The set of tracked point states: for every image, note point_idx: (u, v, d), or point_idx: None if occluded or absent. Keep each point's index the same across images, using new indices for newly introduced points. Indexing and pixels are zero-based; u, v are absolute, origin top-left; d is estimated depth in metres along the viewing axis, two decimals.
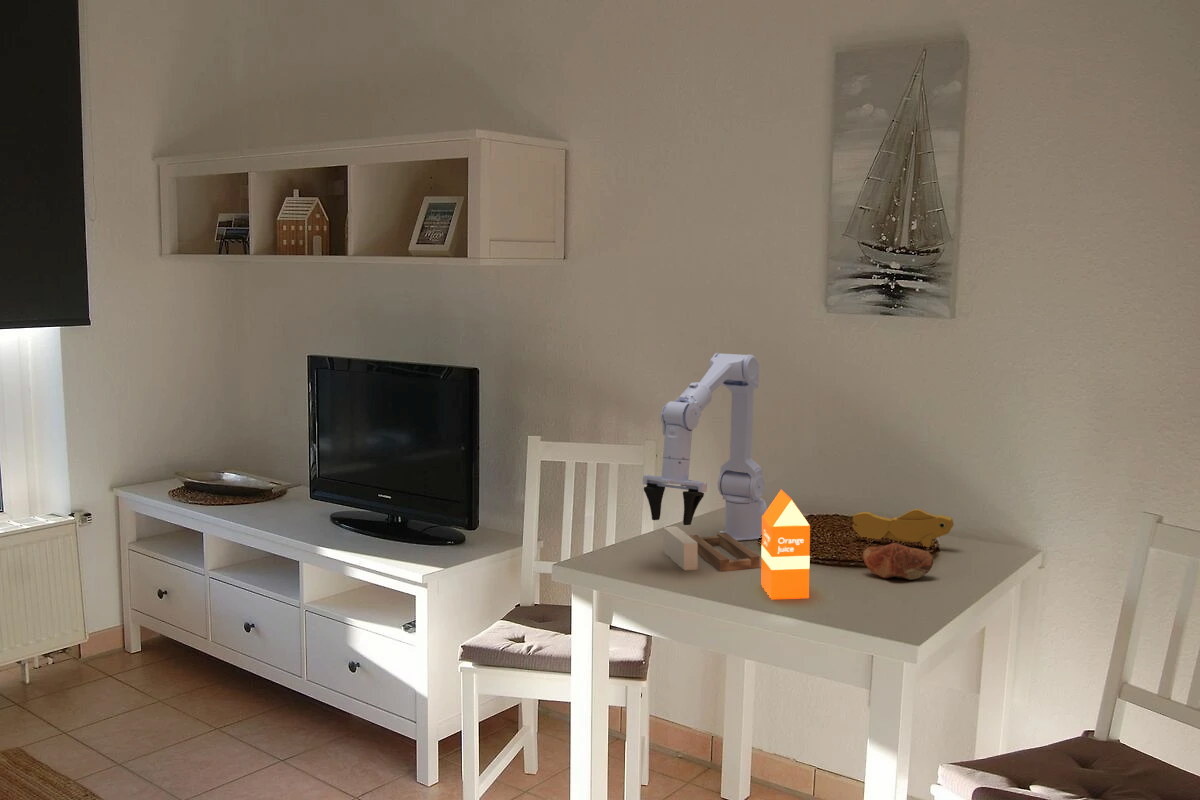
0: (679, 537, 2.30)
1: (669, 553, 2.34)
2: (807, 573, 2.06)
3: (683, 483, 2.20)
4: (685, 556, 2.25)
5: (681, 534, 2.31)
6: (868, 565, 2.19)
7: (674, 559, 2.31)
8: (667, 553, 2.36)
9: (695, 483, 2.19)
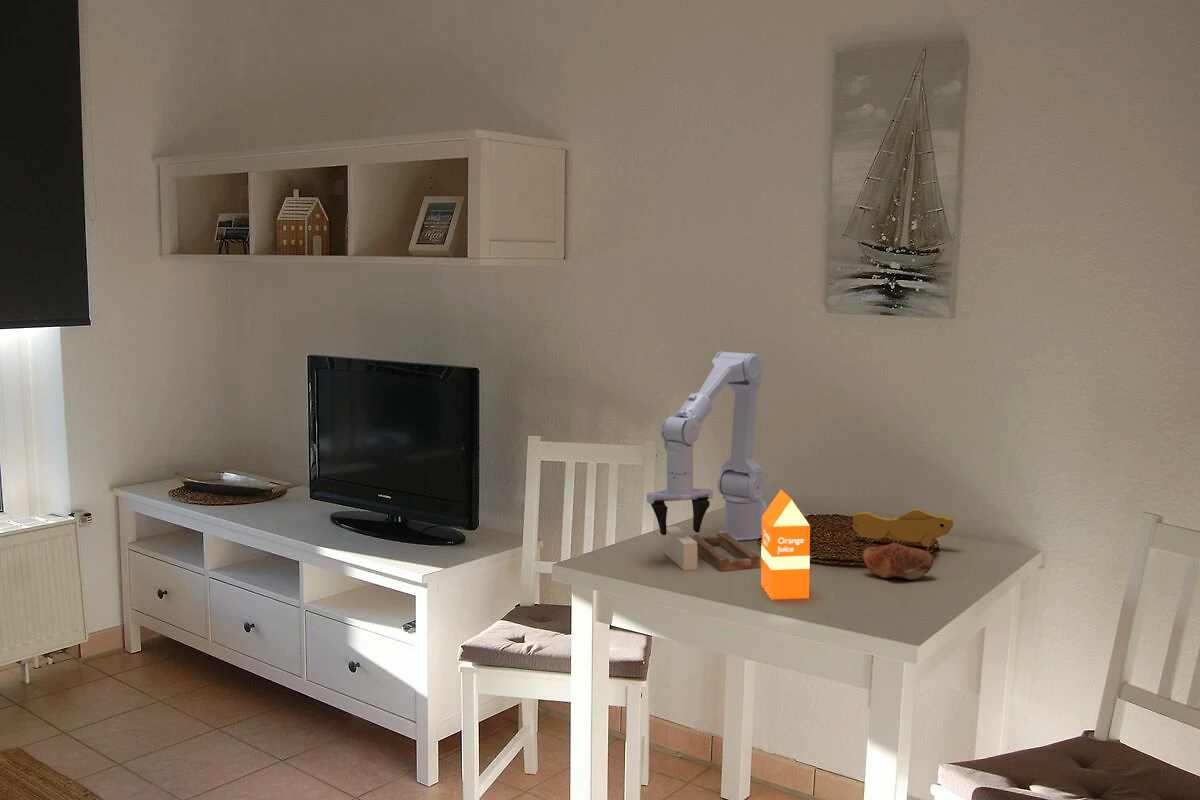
0: (679, 536, 2.30)
1: (669, 553, 2.34)
2: (807, 573, 2.06)
3: (697, 494, 2.29)
4: (685, 556, 2.25)
5: (681, 534, 2.31)
6: (868, 565, 2.19)
7: (674, 559, 2.31)
8: (667, 553, 2.36)
9: (706, 492, 2.30)
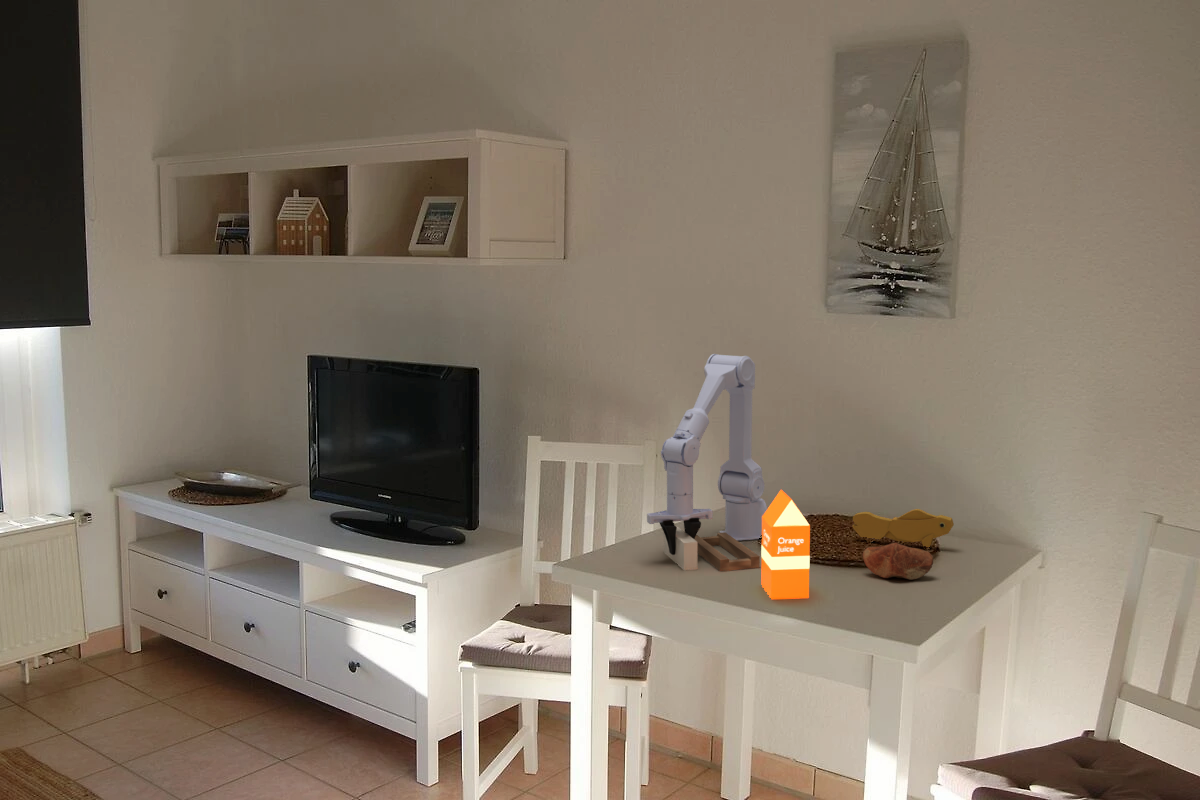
0: (679, 536, 2.30)
1: (669, 553, 2.34)
2: (807, 573, 2.06)
3: (697, 515, 2.30)
4: (685, 555, 2.25)
5: (681, 534, 2.31)
6: (868, 565, 2.19)
7: (674, 558, 2.31)
8: (667, 552, 2.36)
9: (706, 512, 2.31)
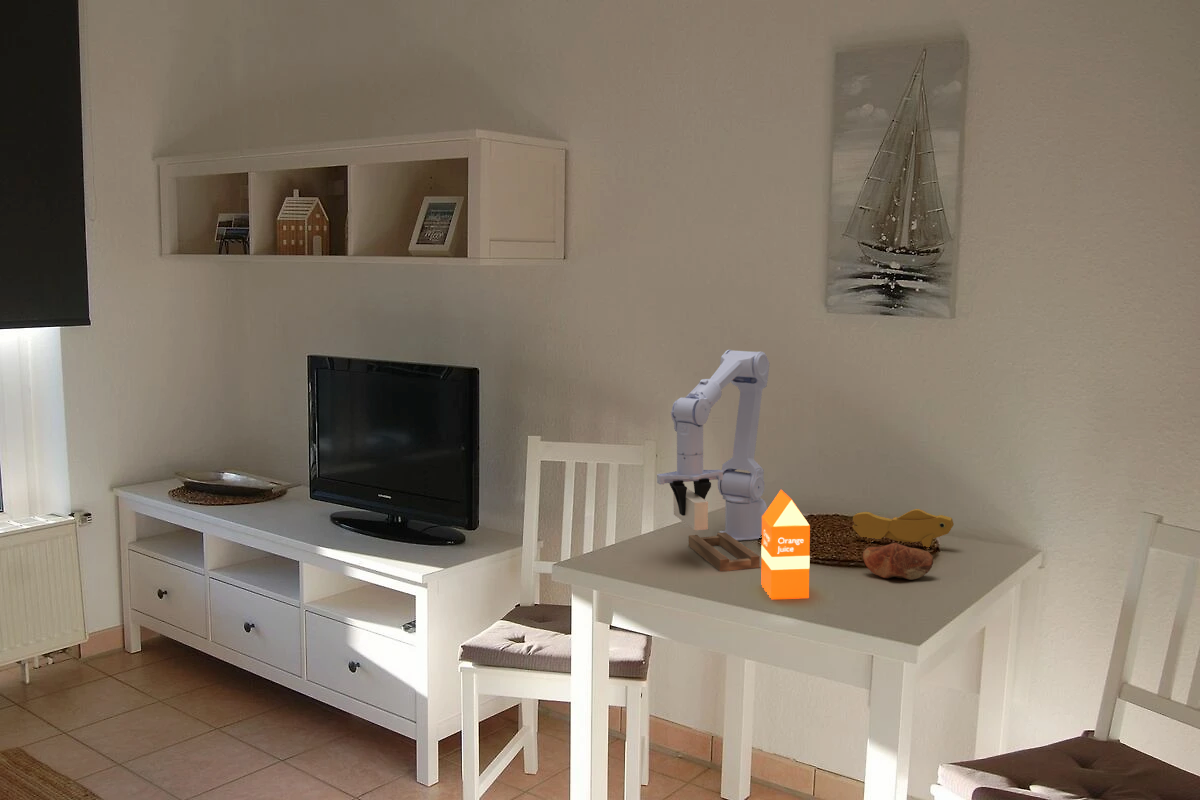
0: (689, 496, 2.29)
1: (679, 514, 2.34)
2: (807, 573, 2.06)
3: (707, 475, 2.29)
4: (695, 515, 2.24)
5: (691, 495, 2.31)
6: (868, 565, 2.19)
7: (684, 519, 2.31)
8: (677, 514, 2.35)
9: (716, 473, 2.30)
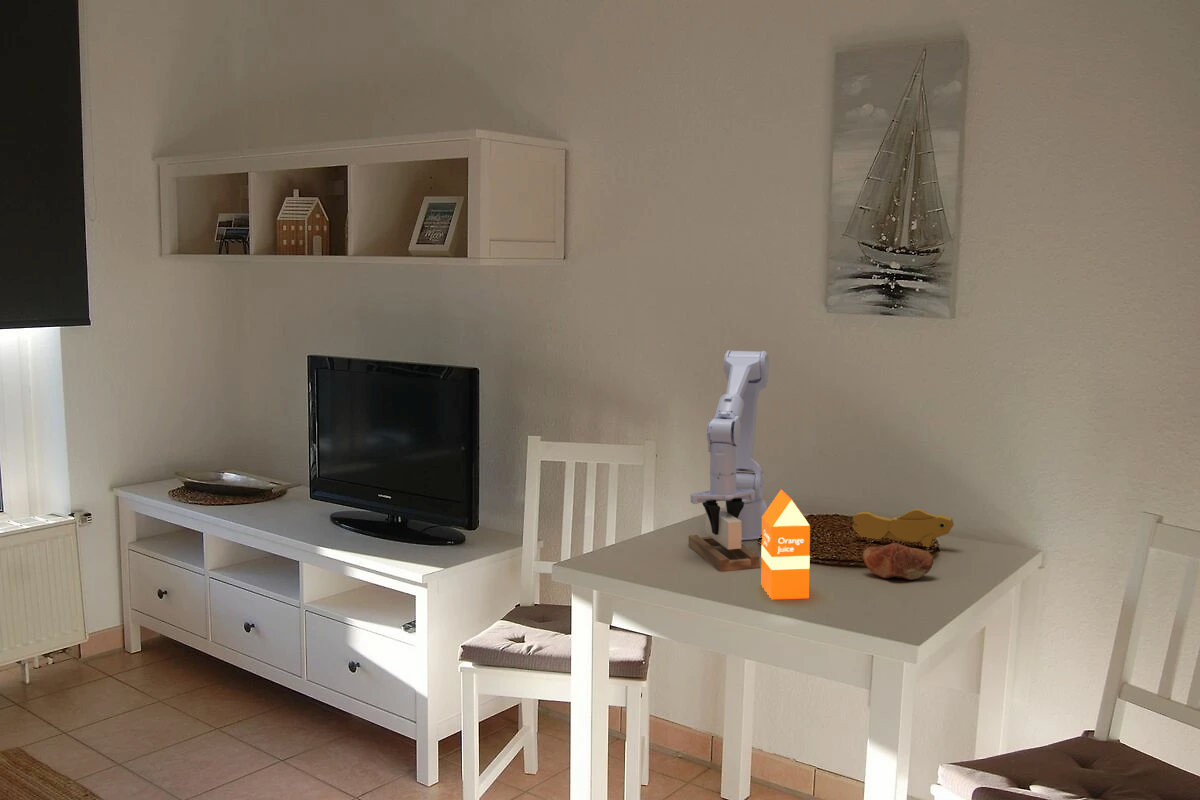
0: (723, 516, 2.31)
1: (712, 533, 2.36)
2: (807, 573, 2.06)
3: (740, 495, 2.31)
4: (729, 534, 2.27)
5: (724, 514, 2.33)
6: (868, 565, 2.19)
7: (717, 538, 2.33)
8: (709, 533, 2.38)
9: (748, 492, 2.33)
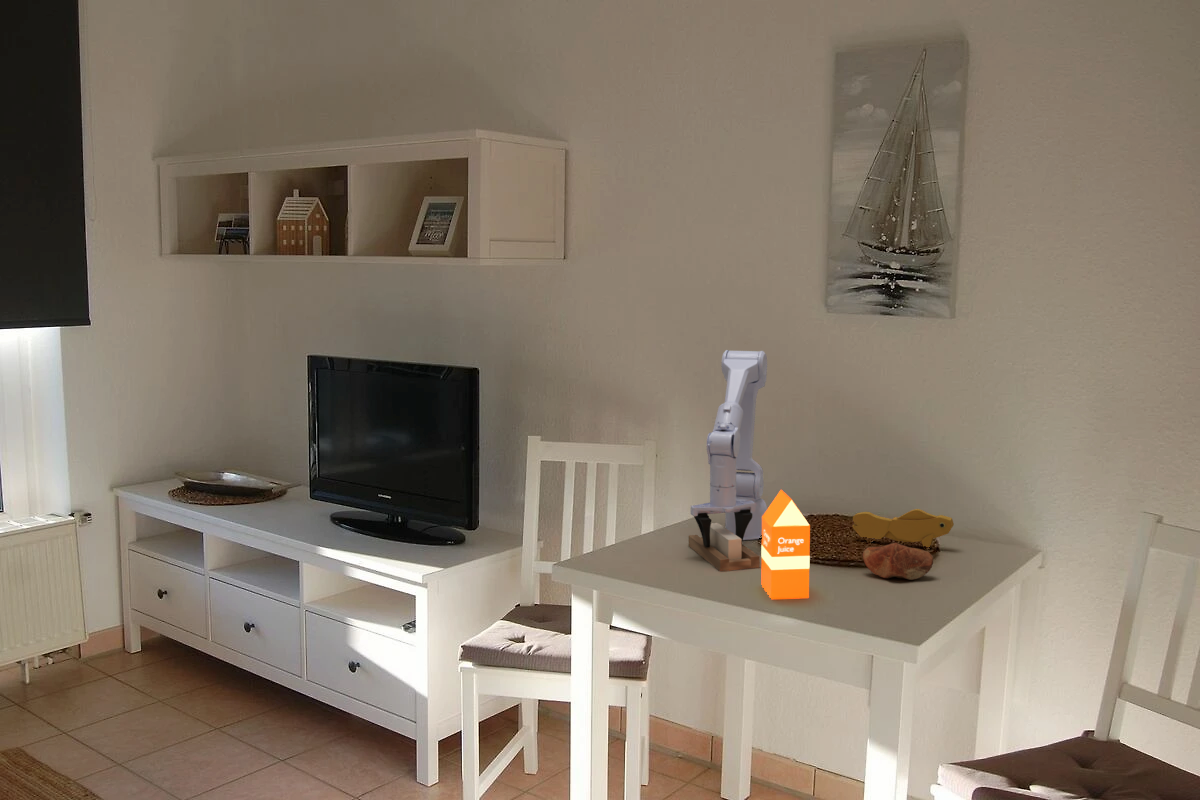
0: (723, 533, 2.32)
1: None
2: (807, 573, 2.06)
3: (740, 507, 2.32)
4: (729, 552, 2.27)
5: (724, 531, 2.34)
6: (868, 565, 2.19)
7: None
8: None
9: (748, 504, 2.33)
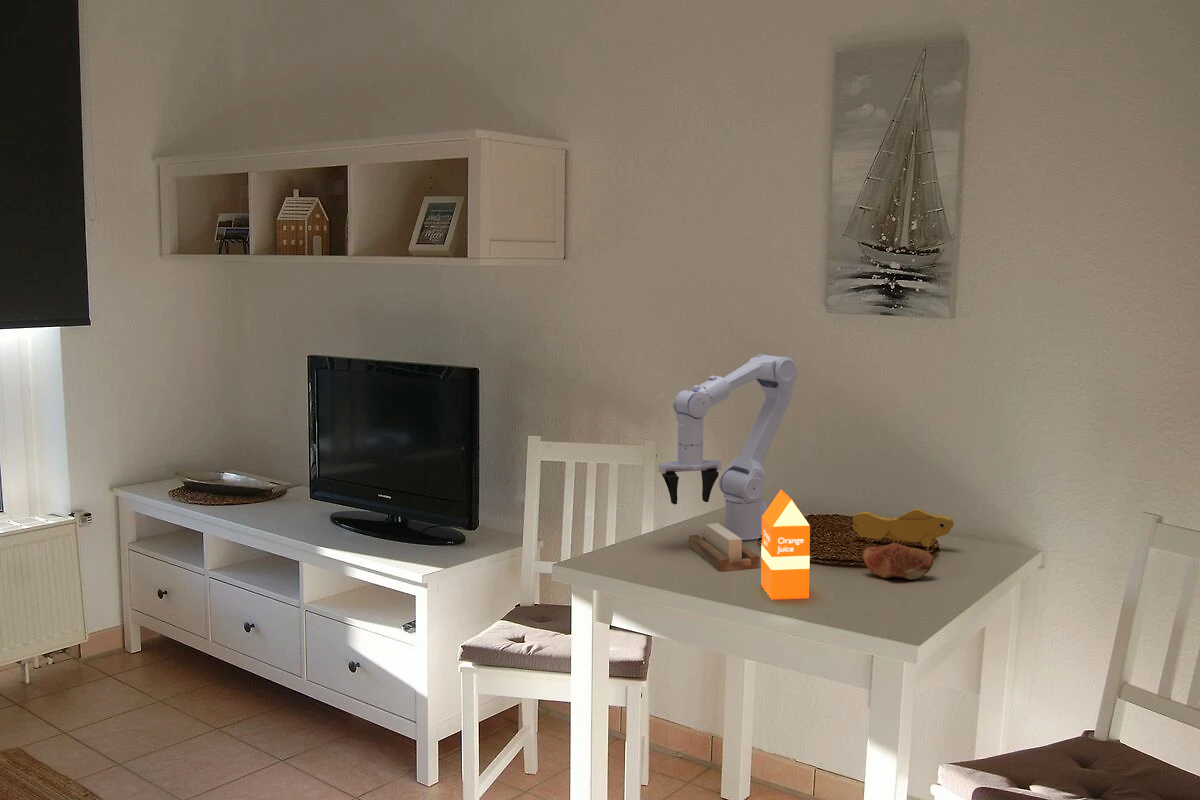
0: (723, 533, 2.32)
1: None
2: (807, 573, 2.06)
3: (707, 465, 2.39)
4: (730, 552, 2.27)
5: (724, 531, 2.34)
6: (868, 565, 2.19)
7: None
8: None
9: (715, 463, 2.40)
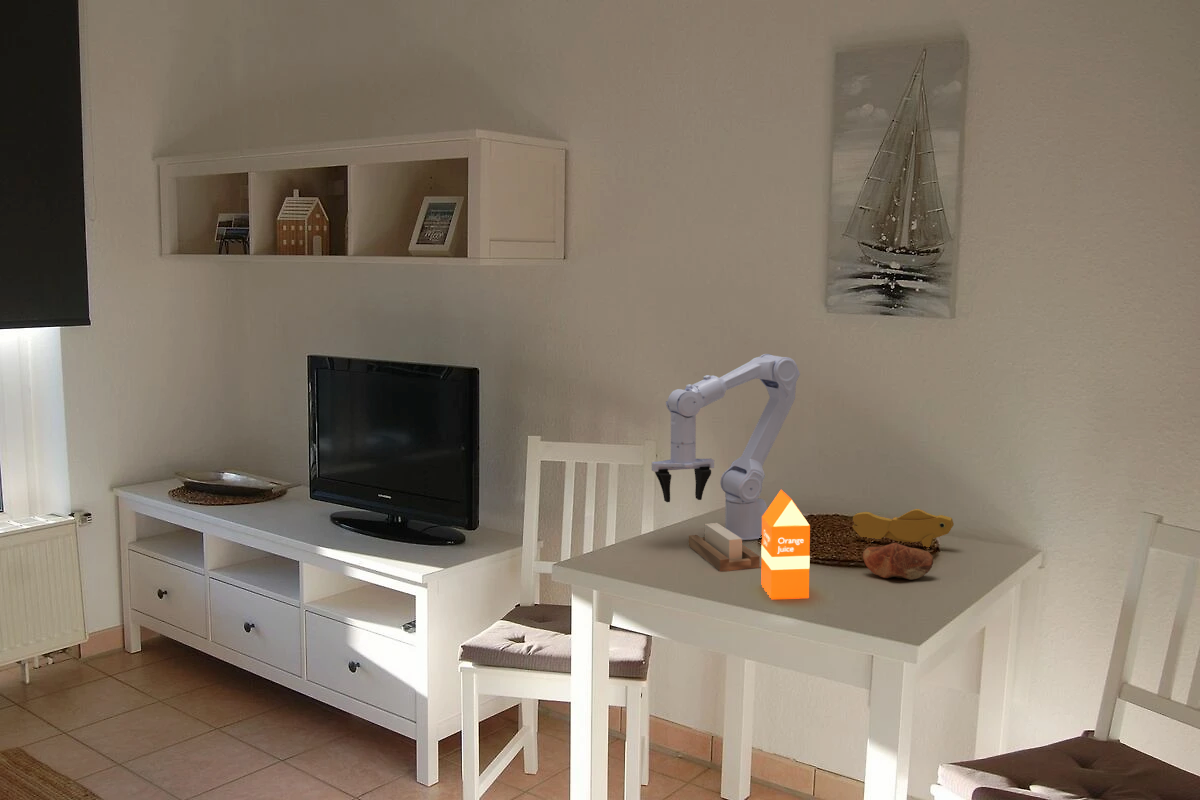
0: (723, 533, 2.32)
1: None
2: (807, 573, 2.06)
3: (699, 464, 2.41)
4: (730, 552, 2.27)
5: (724, 531, 2.34)
6: (868, 565, 2.19)
7: None
8: None
9: (708, 461, 2.42)
